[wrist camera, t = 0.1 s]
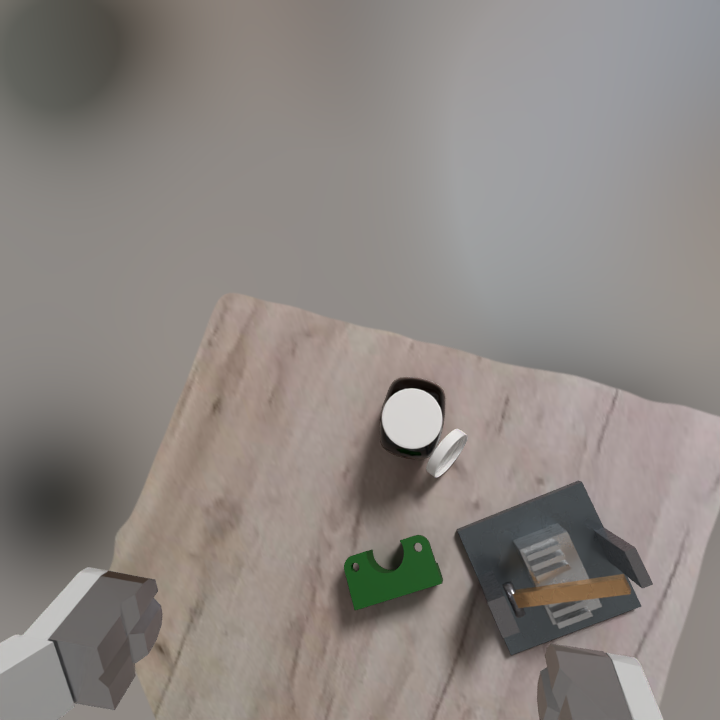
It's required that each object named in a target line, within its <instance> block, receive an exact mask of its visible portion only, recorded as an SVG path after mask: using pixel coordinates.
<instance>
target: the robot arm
mask: <svg viewBox="0 0 720 720" xmlns="http://www.w3.org/2000/svg"><path fill="white" fill-rule="evenodd" d="M157 592H158V588H157V585H156V581H155V580H154V579H149V578H144V577H139V576H134V575H128V574H123V573H118V572H113V571H108V570H102V569H96V568H90V567H87V568H86V569H84V570H82V571H80V572H79V573H78V574H77V575H76V576H75V577H74V579H73V580H72V581H71V582H70V583H69V584H68V585H67V586H66V587H65V589H64V590H63V591H62V592H61V593H60V594H59V595H58V596H57V597H56V598H55V600H54V601H53V602H52V603H51V604H50V605H49V606H48V607H47V609H46V610H45V611H44V612H43V613H42V614H41V615H40V616H39V618H38V619H37V620H36V621H35V622H34V623H33V624H32V625H31V627H29V629H28V630H27V631H26V632H25V633H24V634H23V635H17V634H16V635H14V636H12V637H10V638H8V639H7V640H5V641H3V642H1V643H0V720H58V719H60V718H61V717H62V716H63V715H65V714H66V713H67V712H68V711H69V710H71V709H72V708H73V707H74V706H75V705H74V703H76V704H82V705H88V706H94V707H100V708H106V709H112V710H115V709H116V707H117V706H118V704H119V702H120V700H121V699H122V697H123V696H124V694H125V692H126V691H127V689H128V687H129V686H130V684H131V682H132V681H133V679H134V677H135V663H136V662H138V661H139V660H141V659H142V658H144V657H145V656H146V655H148V654H149V652H150V650H151V649H152V647H153V645H154V644H155V642H156V640H157V637H158V634H159V631H160V628H161V625H162V609H161V605H160V604H159V603H158V602H157V601H156V600H155V599H154V596H155V595H156V593H157ZM545 659H546V664H547V668H545V669H543V670H542V671H540V676H539V680H538V689H537V703H538V713H539V719H540V720H664V719H663V717H662V715H661V712H660V709H659V707H658V705H657V702H656V700H655V697H654V695H653V693H652V690H651V688H650V685H649V683H648V680H647V678H646V676H645V673H644V671H643V668H642V666H641V664H640V663H639V661H638V660H637V659H636V658H634V657H631V656H624V655H617V654H611V653H605V652H603V651H597V650H590V649H583V648H577V647H570V646H563V645H556V644H550V645H549V646H548V647H547V650H546V654H545Z"/></svg>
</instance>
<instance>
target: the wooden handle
mask: <svg viewBox="0 0 720 720" xmlns="http://www.w3.org/2000/svg"><path fill="white" fill-rule="evenodd" d="M502 586H503V588H504V591H505V593H506V595H507V597H508V600H509V602H510V604H511V607H512V609H513V611H514V613H515V616H516V617H517V618H520V617H523V616H524V615H525V614H526V613H525V610H524V607H532V606H540V605H548V604H556V603H564V602H572V601H580V600H588V599H596V598H604V597H612V596H620V595H628V594H631V588H630V586H629V584H628V582H627V580H626V578H625V575H624V574H620V575H613V576H606V577H599V578H593V579H586V580H579V581H572V582H566V583H559V584H552V585H545V586H539V587H532V588H525V589H518V590H515V588H514V586H513V583H512V582H506V583H504V584H503V585H502Z"/></svg>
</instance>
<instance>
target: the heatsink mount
mask: <svg viewBox="0 0 720 720" xmlns="http://www.w3.org/2000/svg"><path fill="white" fill-rule="evenodd" d="M457 531H458V533H459V535H460V538H461V540H462V542H463V545H464V547H465V549H466V552H467V554H468V556H469V559H470V561H471V563H472V566H473V568H474V570H475V573H476V575H477V577H478V579H479V582H480V584H481V586H482V589H483V592H484V594H485V597H486V600H487V603H488V605H489V607H490V610H491V612H492V614H493V617H494V619H495V621H496V624H497V626H498V628H499V631H500V633H501V635H502V638H504V640H505V642H506V644H507V647H508V649H509V651H510V654H511V655H513V654H516V653H518V652H521V651H524V650H526V649H529V648H532V647H534V646H537V645H540V644H542V643H545V642H548V641H550V640H553V639H556V638H558V637H561V636H564V635H566V634H569V633H572V632H574V631H577V630H580V629H582V628H585V627H588V626H590V625H593V624H596V623H598V622H601V621H604V620H606V619H609V618H612V617H614V616H617V615H620V614H622V613H625V612H628V611H630V610H633V609H636V608H638V607H641V604H640V602H639V600H638V598H637V596H636V594H635V592H634V590H633V587H632V585H631V583H630V581H629V579H628V577H629V578H630V579H631V580H632V581H634V582H635V583H636V584H637V585H639V586H640V587H641V588H645V587H647V586H650V585H653V583H652V581H651V579H650V577H649V575H648V573H647V571H646V569H645V567H644V564H643V562H642V560H641V558H640V556H639V554H638V552H637V550H636V548H635V547H634V546H632V545H630V544H629V543H627V542H626V541H624V540H623V539H621V538H619V537H618V536H616V535H615V534H613V533H612V532H610V531H608V530H607V529H605V528H604V527H603V525H602V523H601V521H600V519H599V517H598V515H597V512H596V510H595V508H594V506H593V504H592V502H591V500H590V498H589V496H588V494H587V492H586V490H585V487H584V485H583V483H582V482H581V481H576V482H574V483H571V484H569V485H566V486H564V487H561V488H559V489H556V490H554V491H551V492H549V493H546V494H544V495H541V496H539V497H536V498H534V499H531V500H529V501H526V502H524V503H521V504H519V505H516V506H514V507H511V508H509V509H506V510H504V511H501V512H499V513H496V514H494V515H491V516H489V517H486V518H484V519H481V520H479V521H476V522H474V523H471V524H469V525H466V526H464V527H461V528H459V529H457ZM620 574H624V575H625V578H626V580H627V582H628V584H629V586H630V588H631V594H628V595H620V596H612V597H604V598H596V599H588V600H580V601H572V602H564V603H556V604H548V605H540V606H532V607H524V610H525V613H526V614H525V615H524V616H523V617H520V618H517V617H516V616H515V613H514V611H513V609H512V607H511V604H510V602H509V600H508V597H507V595H506V593H505V591H504V588H503V586H502V585H503V584H504V583H506V582H512V583H513V586H514V588H515V590H518V589H525V588H532V587H539V586H545V585H552V584H559V583H566V582H572V581H579V580H586V579H593V578H599V577H606V576H613V575H620Z"/></svg>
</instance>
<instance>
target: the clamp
mask: <svg viewBox="0 0 720 720" xmlns="http://www.w3.org/2000/svg"><path fill="white" fill-rule="evenodd" d="M400 542H401V543H402V546H403V549H404V557H403V561H402V563H401V565H400V566H399V568H397V569H394V570H387V569H384V568H382V567H381V566H379V565H378V563H377V562H376V561H375V559H374V556H373V550H369V551H366V552H362V553H359V554H356V555H353V556H350V557H349V558H348V559H347V560H346V562H345V565H344V570H345V574H346V578H347V582H348V586H349V590H350V594H351V598H352V602H353V606H354V610H358V609H361V608H365V607H368V606H371V605H374V604H377V603H381V602H384V601H387V600H390V599H394V598H397V597H400V596H403V595H407V594H410V593H413V592H416V591H419V590H423V589H426V588H429V587H432V586H436V585H439V584H442V582H443V578H442V575H441V572H440V569H439V566H438V563H436V561H435V558H434V555H433V552H432V549H431V546H430V543H429V541H428V540H427V538H425V537H424V536H422V535H416V536H412V537H409V538H406V539H403V540H400ZM416 543H420V544H421V545H422V551H420V552H418V551H416V550H415V548H414V546H415V544H416ZM354 563H358V565H359V570H358V571H355V570H354V569H353V564H354Z"/></svg>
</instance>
